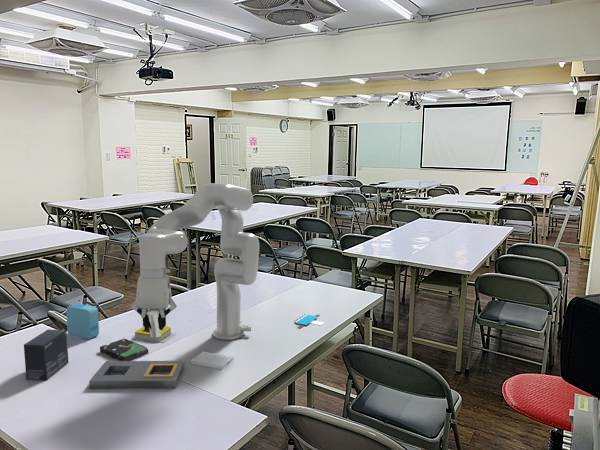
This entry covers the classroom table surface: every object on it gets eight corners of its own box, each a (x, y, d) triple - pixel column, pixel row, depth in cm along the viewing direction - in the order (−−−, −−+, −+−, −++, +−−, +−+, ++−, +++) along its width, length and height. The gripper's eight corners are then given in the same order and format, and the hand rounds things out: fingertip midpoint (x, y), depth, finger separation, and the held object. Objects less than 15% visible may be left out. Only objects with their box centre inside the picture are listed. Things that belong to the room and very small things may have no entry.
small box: (49, 362, 154) (47, 328, 152) (69, 362, 154) (67, 329, 152) (25, 380, 141) (22, 344, 139) (46, 381, 140) (44, 344, 139)
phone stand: (312, 332, 188) (312, 328, 188) (287, 327, 194) (287, 323, 194) (331, 318, 206) (331, 315, 206) (308, 314, 211) (308, 310, 211)
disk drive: (99, 354, 162) (124, 364, 154) (98, 346, 162) (124, 356, 154) (124, 344, 171) (149, 354, 163) (123, 337, 171) (149, 346, 162)
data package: (99, 336, 177) (98, 306, 176) (90, 340, 173) (89, 310, 171) (76, 331, 181) (75, 302, 180) (67, 335, 177) (65, 306, 176)
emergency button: (144, 320, 184) (176, 325, 181) (144, 331, 185) (176, 335, 181) (130, 328, 175) (164, 333, 172) (130, 339, 176) (164, 344, 172)
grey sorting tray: (184, 367, 152) (184, 360, 152) (175, 388, 138) (175, 380, 138) (106, 368, 150) (106, 360, 150) (89, 388, 136) (89, 380, 136)
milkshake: (148, 333, 145) (145, 304, 144) (164, 332, 145) (162, 303, 144) (144, 339, 140) (141, 308, 139) (161, 338, 141) (158, 307, 139)
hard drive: (190, 360, 156) (222, 366, 152) (203, 351, 163) (233, 356, 159) (190, 364, 156) (222, 370, 152) (203, 355, 164) (233, 360, 159)
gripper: (182, 270, 144) (183, 324, 147) (129, 269, 143) (131, 324, 146) (177, 276, 136) (178, 333, 139) (121, 275, 136) (123, 332, 138)
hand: (154, 327), depth 142 cm, fingers closed on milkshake, 4 cm apart
